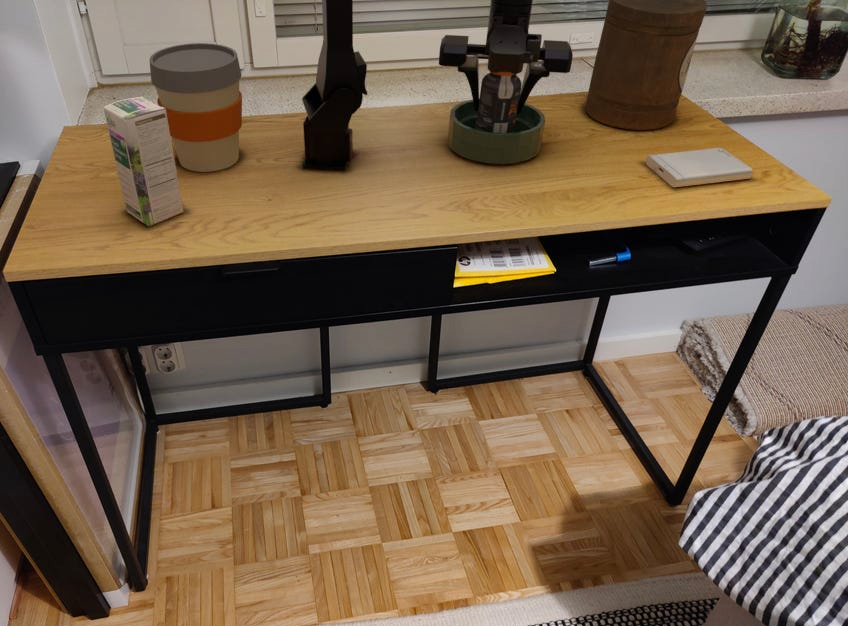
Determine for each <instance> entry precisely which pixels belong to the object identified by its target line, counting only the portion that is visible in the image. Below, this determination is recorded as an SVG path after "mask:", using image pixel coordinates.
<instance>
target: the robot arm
mask: <svg viewBox="0 0 848 626" xmlns="http://www.w3.org/2000/svg"><path fill="white" fill-rule="evenodd" d="M353 1H354V0H321V7H322V8H321V9H322V11H321V12H322V39H323V40H322V45H321V49H320V53H319V55H318V62H317V67H316V68H317V69H316V77H315V83H314V84H313V85H312V86H311V88H310V89H309V90H308V91H307V92H305V94H304V95H303V96H302V98H301V102H302V105H303V106H304V109H305V113H306V117H305V119H304V121H303V123H302V127H303V129H302V130H303V145H304V159H303V162H302V168H303V169H317V170H318V169H319V170H330V171H331V170H333V171H345V170H347V166H348V163H350V162H351V160H352V158H353V154H354V146H353V145H354V144H353V143H354V142H353V141H354V137H353V136H354V135H353V129H352V128H350V125H349V124H350V121H351V119H352V116H353V114H355V113H356V112H357V111H358V110H359V109H360V108H361V107H362V104H363V98H364V95H365V96H368V91H367V88H366V78H367V72H368V68H367V67H368V65H367V63H366V61H365V59H364V57H363V56H362V55H361V53H360V51H358V50H357V51H355V50H354V26H353V25H354V21H353V20H354V15H353V14H354V12H353V11H354V9H353V8H354V7H353V5H354V3H353ZM533 2H534V0H490V6H489V15H488V23H487V31H486V38H485V44H482V43H481V44H479V43H477V44H476V43H469V37H470V36H469V35H456V34H455V35H454V34H445V35H444V36H443V37H441V41H440V46H439V52H438V53H439V54H438V65H439V66H441V67H453V68H454V67H456V68H457V72H458V73H463V74H464V76H465V77H466V80H467V82H468V85H469V88H470V92H471V98H472V100H473V103H474V108H475V111H477V112H478V106H479V98H480V68H479V67H480V61H479V60H487V70H488V71H489V73H490V72H494V73H498V72H511V73H512V74H516V75H518V74H520V73H522V72H523V69H524V65H525V64H526V67H525V72H524V76H523V78H522V79H523V80H522V82H521V91H520V97H519V103H518V109H517V114H520V112H521V110H522V108H523V106H524V104H525V103H526V102H527V101H528V98H529V96H530V94H531V93H532V91H533V89H534V88H535V86H536V85H537V84H538V82H539V81H540V80H541V79H542V78H549V76H550V74H551V73H559V74H560V73H561V74H568V73H570V72H571V68H572V64H573V55H574V54H573V50H572V46H571V44H570V43H569V42H568V41H567V40H553V39H551V40H549V39H544V40H543V42H542V37H543V35H542V34H541V33H540V34H539V33H529V30H530V22H531V15H532V8H533Z"/></svg>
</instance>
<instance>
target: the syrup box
mask: <svg viewBox="0 0 848 626" xmlns="http://www.w3.org/2000/svg"><path fill="white" fill-rule="evenodd" d="M102 109H103V113H104V117H105V121H106V127H107V130H108V135H109V139H110V143H111V148H112V153H113V157H114V162H115V166H116V170H117V175H118V179H119V184H120V188H121V193H122V197H123V200H124V205H125V209H126V212H127V214H129V215H131V216H132V217H134V219H137V220H138V221H139V222H141V223H143V224H144V225H145V226H147V227H151V226H153V225H155V224H156V225H157V224H158V223H160V222H163V221H165V220H168V219H170V218H173V217H175V216H177V215H179V214H180V215H181V214H182V213H184V207H183V201H182V195H181V189H180V183H179V177H178V171H177V165H176V160H175V155H174V148H173V141H172V137H171V136H170V131H169V125H168V120H167V114H166V109H165V108H164V107H160V106H158V103H155V102H153V101H151V100H150V99H147V98H146V97H144V96H136V97H128V98H125V99H121V100H117V101H115V102H112V103H109V104H106V105H104V106H103V107H102Z"/></svg>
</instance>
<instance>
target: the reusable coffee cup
mask: <svg viewBox="0 0 848 626" xmlns="http://www.w3.org/2000/svg"><path fill="white" fill-rule="evenodd" d="M149 70H150V81H151V83H152V85H153V86H154V87H155V90H156V93H157V96H158V97H157V100H156V102H157V103H156V104H157V105H158V106H160V107H164V108H165V109H166V114H167V120H168V125H169V131H170V137H171V141H172V144H173V146H174V149H175V153H176V155H177V159H178V162H179V164H180V166H182V167H183V168H184V169H186V170H189V171H193V172H201V173H208V172H209V173H211V172H216V171H217V172H218V171H221V170H225V169H227V168H230V167H232V166H233V165H235V164H236V163H237V162H238V161H239V156H240V130H241V128H242V125H243V93H242V92H241V90H240V80H241V78H242V71H241V66H240V61H239V57H238V53H237V51H236V50H235V49H233V48H232V47H230V46H227V45H223V44H217V43H208V42H207V43H206V42H195V43H194V42H193V43H183V44H177V45H172V46H168V47H165V48H162V49H160V50H158V51H156V52H153V54H152V55H150V57H149Z"/></svg>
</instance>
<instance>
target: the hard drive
mask: <svg viewBox="0 0 848 626" xmlns="http://www.w3.org/2000/svg"><path fill="white" fill-rule="evenodd" d="M644 164H645V165H646V166H648V168H649V169H651V171H653V172H654V173H655V174H656V175H658V176H659V177H660V178H661V179H663V180H664V182H665V183H667V184H668V185H669V186H671V187H672V188H678V187H679V188H681V187H688V186H696V185H697V186H698V185H706V184H714V183H721V182H723V183H724V182H731V181H739V180H749V179H751V178H752V175H753V173H754V170H753V168H752V167H750V166H749V165H747V163H745V162H744V161H741V160H740V159H739V158H738V157H736V156H735V155H733V154H731V153H730V152H729V151H727V150H726V149H725V148H723V147H713V148H705V149H696V150H687V151H686V150H685V151H675V152H666V153H658V154H649V155H647V156H646V158H645V161H644Z"/></svg>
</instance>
